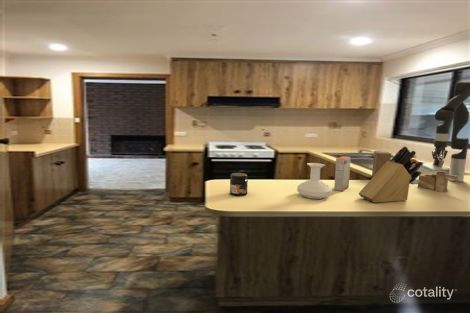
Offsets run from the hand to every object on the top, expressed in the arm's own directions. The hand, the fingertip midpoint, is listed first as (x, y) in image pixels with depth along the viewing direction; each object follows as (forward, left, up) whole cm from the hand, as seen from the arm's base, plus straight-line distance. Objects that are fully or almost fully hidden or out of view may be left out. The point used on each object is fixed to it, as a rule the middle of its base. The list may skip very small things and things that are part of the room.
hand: (438, 165), depth 212 cm
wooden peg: (+7, +11, -6) cm, 15 cm away
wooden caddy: (+4, +3, -16) cm, 16 cm away
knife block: (+58, +12, -16) cm, 62 cm away
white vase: (+98, -8, -16) cm, 99 cm away
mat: (0, -18, -15) cm, 24 cm away
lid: (+4, -1, -3) cm, 5 cm away
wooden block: (+14, -35, -16) cm, 41 cm away
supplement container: (+139, -26, -16) cm, 142 cm away
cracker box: (+69, -17, -16) cm, 72 cm away
